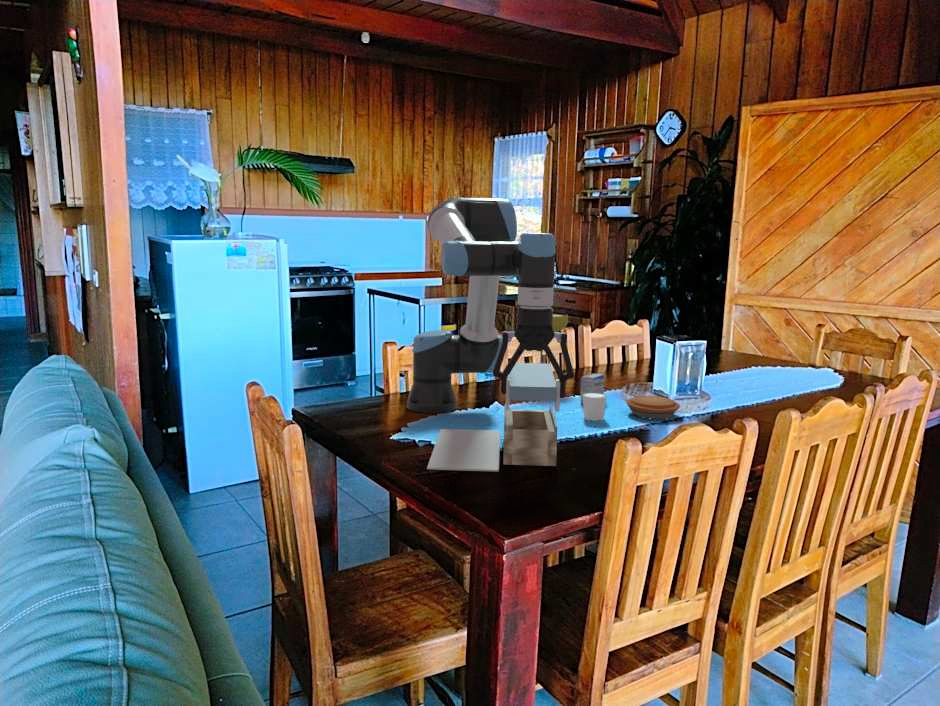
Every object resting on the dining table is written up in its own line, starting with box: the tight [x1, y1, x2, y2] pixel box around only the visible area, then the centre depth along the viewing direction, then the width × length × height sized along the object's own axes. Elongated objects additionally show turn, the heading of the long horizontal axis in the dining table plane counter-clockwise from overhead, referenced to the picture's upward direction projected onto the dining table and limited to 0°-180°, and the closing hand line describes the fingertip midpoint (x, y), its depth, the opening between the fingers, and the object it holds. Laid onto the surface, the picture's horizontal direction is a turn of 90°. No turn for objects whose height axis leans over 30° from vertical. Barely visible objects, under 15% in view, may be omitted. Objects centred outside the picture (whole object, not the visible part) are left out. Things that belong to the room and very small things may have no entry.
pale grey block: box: [508, 362, 557, 402], centre depth 157 cm, size 10×26×3 cm, turn 177°
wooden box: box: [502, 404, 558, 467], centre depth 166 cm, size 12×20×9 cm, turn 177°
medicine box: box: [579, 373, 605, 404], centre depth 219 cm, size 8×4×9 cm, turn 143°
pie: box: [625, 395, 681, 420], centre depth 203 cm, size 16×16×5 cm
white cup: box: [582, 393, 608, 422], centre depth 198 cm, size 7×7×7 cm
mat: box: [426, 428, 501, 473], centre depth 168 cm, size 16×32×1 cm, turn 177°
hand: (532, 409), depth 148 cm, fingers closed on pale grey block, 10 cm apart
